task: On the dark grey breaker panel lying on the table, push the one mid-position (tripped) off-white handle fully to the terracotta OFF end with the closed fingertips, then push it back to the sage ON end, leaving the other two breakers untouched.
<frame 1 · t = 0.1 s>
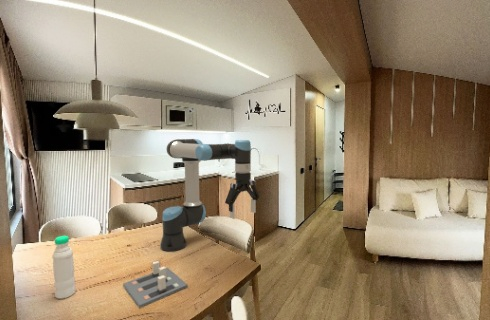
hand: (243, 215, 126), 28 cm above the table, fingers open, 13 cm apart
panel: (155, 286, 115), on the table
tripped breaker: (161, 283, 109), point 4 cm above the table, slide at 0.0 cm
water bottle: (65, 294, 109), on the table
breaker b: (162, 274, 116), point 4 cm above the table, slide at 3.5 cm
breaker a: (156, 268, 122), point 4 cm above the table, slide at 3.5 cm
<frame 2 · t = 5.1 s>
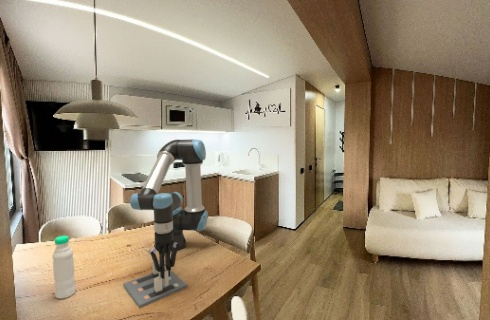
hand: (165, 284, 110), 4 cm above the table, fingers closed
tripped breaker: (158, 285, 108), point 4 cm above the table, slide at -1.5 cm, touching gripper
everything else where it was.
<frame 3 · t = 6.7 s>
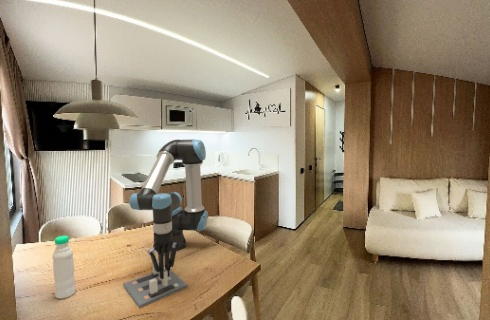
hand: (164, 284, 110), 3 cm above the table, fingers closed
tripped breaker: (153, 287, 107), point 4 cm above the table, slide at -3.5 cm
everything else where it was.
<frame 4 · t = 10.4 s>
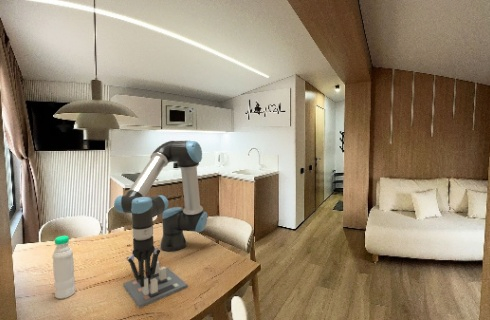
hand: (145, 292, 105), 3 cm above the table, fingers closed
tripped breaker: (153, 287, 107), point 4 cm above the table, slide at -3.5 cm, touching gripper
everything else where it was.
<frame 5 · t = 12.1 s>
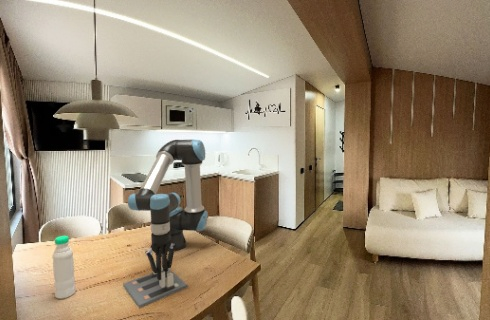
hand: (162, 285, 109), 3 cm above the table, fingers closed
tripped breaker: (169, 280, 111), point 4 cm above the table, slide at 3.6 cm, touching gripper
everything else where it was.
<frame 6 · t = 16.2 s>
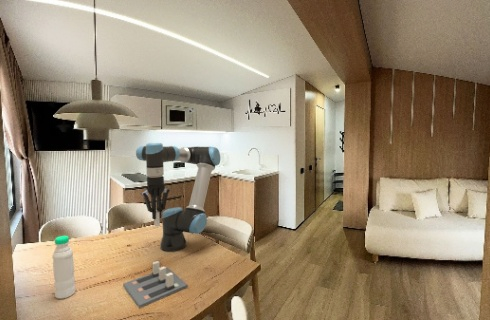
hand: (157, 225, 123), 24 cm above the table, fingers closed
tripped breaker: (169, 280, 111), point 4 cm above the table, slide at 3.5 cm
everything else where it was.
at the end: tripped breaker slide at 3.5 cm; breaker b slide at 3.5 cm; breaker a slide at 3.5 cm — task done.
